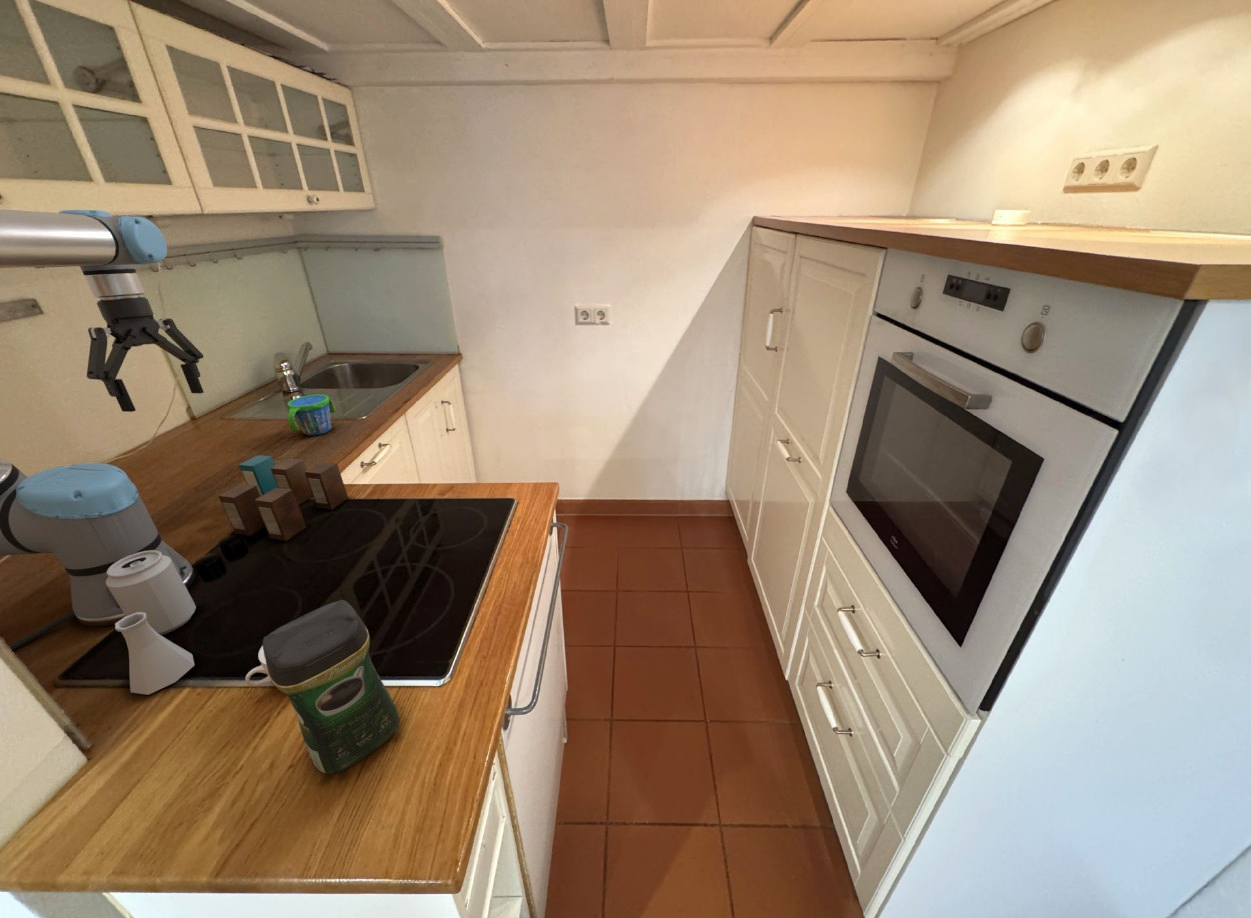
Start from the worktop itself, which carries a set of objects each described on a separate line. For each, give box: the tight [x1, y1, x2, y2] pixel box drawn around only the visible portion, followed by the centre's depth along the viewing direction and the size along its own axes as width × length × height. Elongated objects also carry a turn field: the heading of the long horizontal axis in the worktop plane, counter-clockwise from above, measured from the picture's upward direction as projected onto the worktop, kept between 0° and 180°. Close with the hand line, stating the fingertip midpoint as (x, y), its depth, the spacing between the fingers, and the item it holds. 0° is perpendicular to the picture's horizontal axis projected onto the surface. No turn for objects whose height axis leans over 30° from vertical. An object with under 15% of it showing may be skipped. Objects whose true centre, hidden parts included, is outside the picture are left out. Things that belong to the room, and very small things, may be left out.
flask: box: [114, 612, 195, 696], centre depth 68 cm, size 7×7×10 cm
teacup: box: [244, 645, 272, 687], centre depth 68 cm, size 10×8×5 cm
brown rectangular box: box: [271, 458, 313, 506], centre depth 112 cm, size 5×4×9 cm
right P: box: [305, 461, 349, 510], centre depth 110 cm, size 5×4×9 cm
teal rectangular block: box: [238, 454, 278, 496], centre depth 114 cm, size 5×4×9 cm
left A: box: [218, 483, 266, 536], centre depth 102 cm, size 5×4×9 cm
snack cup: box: [287, 394, 336, 437], centre depth 149 cm, size 16×10×10 cm
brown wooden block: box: [254, 488, 307, 542], centre depth 100 cm, size 5×4×9 cm
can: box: [106, 550, 197, 636], centre depth 77 cm, size 8×8×12 cm
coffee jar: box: [262, 599, 400, 775], centre depth 57 cm, size 10×8×19 cm
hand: (165, 401), depth 107 cm, fingers open, 13 cm apart
